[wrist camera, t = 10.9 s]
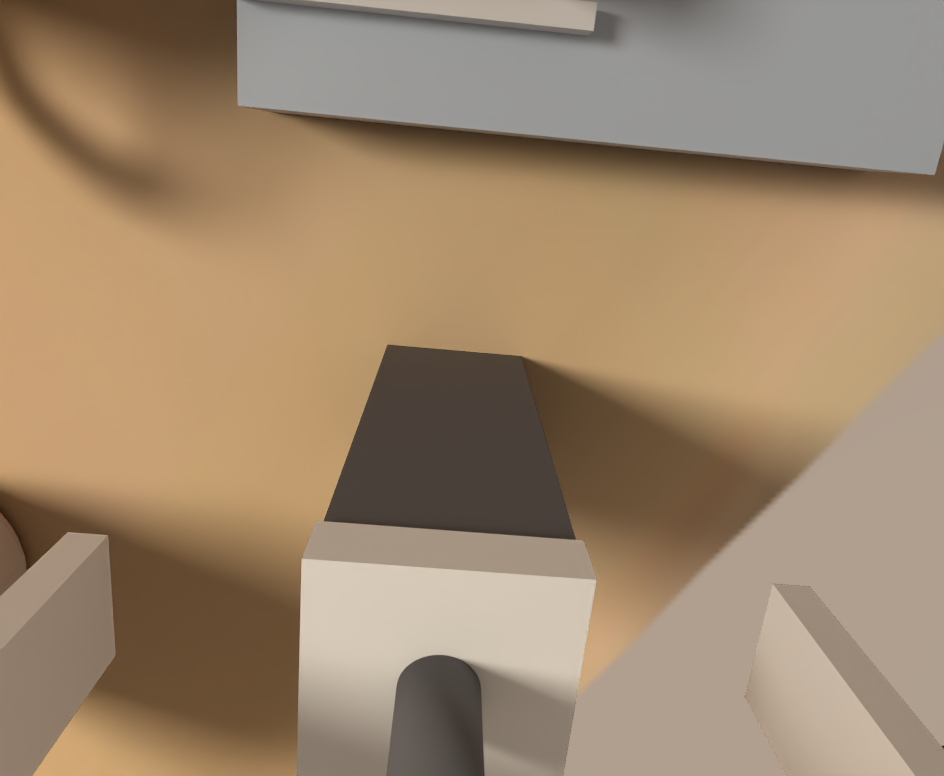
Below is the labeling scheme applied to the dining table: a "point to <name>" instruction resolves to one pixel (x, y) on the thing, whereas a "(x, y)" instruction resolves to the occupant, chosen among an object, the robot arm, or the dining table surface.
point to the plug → (443, 584)
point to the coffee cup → (10, 556)
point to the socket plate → (618, 73)
